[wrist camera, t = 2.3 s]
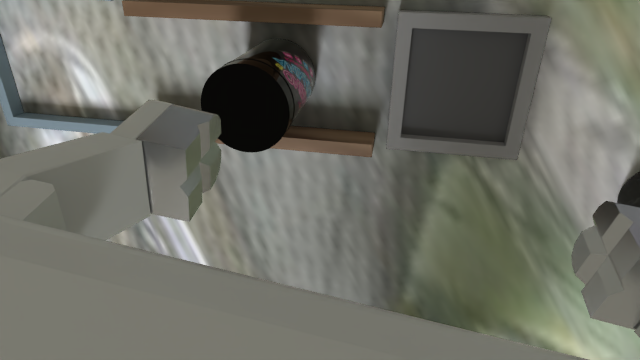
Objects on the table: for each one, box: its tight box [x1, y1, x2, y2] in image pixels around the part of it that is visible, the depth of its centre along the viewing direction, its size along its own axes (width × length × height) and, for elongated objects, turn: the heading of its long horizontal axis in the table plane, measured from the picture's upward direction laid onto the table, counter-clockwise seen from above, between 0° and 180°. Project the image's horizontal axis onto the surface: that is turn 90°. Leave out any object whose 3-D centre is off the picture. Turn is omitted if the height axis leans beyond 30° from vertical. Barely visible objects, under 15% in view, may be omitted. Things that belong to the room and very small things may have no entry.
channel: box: [122, 0, 385, 157], centre depth 41 cm, size 12×22×3 cm, turn 89°
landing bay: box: [0, 0, 124, 134], centre depth 44 cm, size 14×15×2 cm
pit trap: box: [386, 10, 552, 160], centre depth 39 cm, size 12×12×1 cm
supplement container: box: [201, 39, 315, 152], centre depth 37 cm, size 7×7×10 cm
